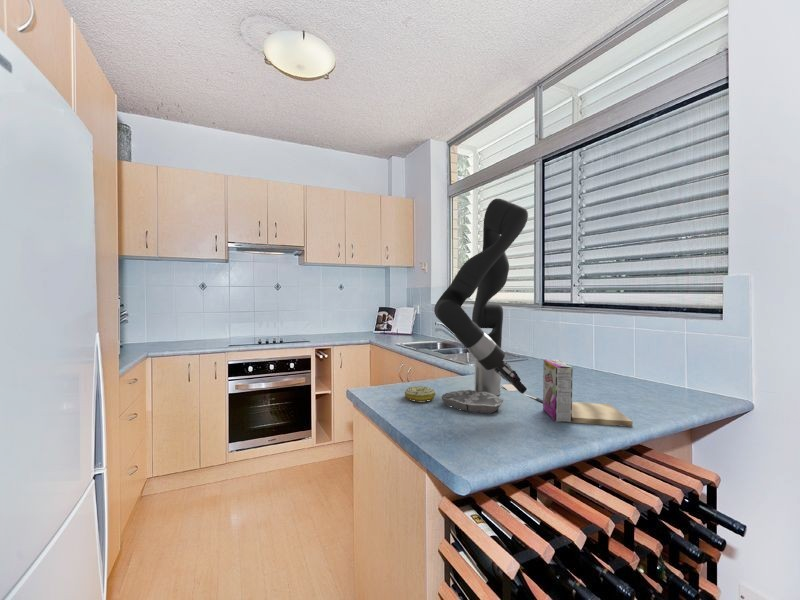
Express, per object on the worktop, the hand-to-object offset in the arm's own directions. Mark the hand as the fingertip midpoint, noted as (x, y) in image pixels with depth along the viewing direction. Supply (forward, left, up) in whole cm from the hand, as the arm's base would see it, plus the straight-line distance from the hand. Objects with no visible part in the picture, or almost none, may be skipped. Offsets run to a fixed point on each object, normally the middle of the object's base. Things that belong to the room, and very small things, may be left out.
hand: (523, 390), depth 111 cm
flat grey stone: (-15, +9, -8) cm, 19 cm away
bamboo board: (+21, +6, -8) cm, 24 cm away
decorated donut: (-33, +13, -8) cm, 36 cm away
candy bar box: (+10, +3, -8) cm, 13 cm away
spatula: (+6, +23, -9) cm, 25 cm away
